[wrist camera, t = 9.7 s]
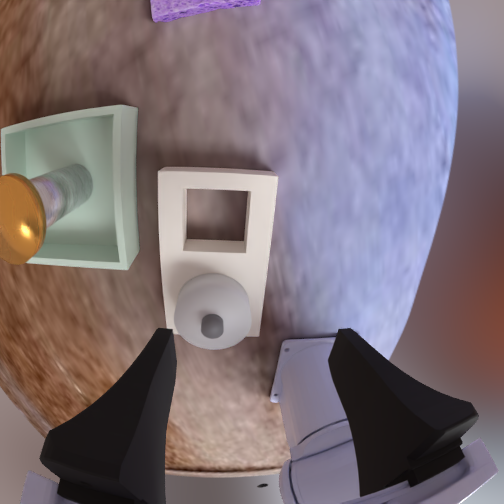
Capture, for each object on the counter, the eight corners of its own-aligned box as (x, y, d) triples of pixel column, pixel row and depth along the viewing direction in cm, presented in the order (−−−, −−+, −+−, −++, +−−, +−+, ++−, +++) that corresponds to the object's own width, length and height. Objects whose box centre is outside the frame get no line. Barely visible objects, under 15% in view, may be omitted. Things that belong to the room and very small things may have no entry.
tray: (139, 250, 19) (127, 270, 16) (36, 246, 18) (17, 262, 15) (138, 107, 15) (122, 104, 12) (25, 125, 14) (1, 128, 11)
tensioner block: (256, 320, 23) (263, 363, 18) (171, 317, 22) (162, 359, 17) (272, 171, 18) (288, 185, 13) (165, 166, 17) (144, 180, 12)
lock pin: (103, 214, 17) (46, 266, 10) (55, 215, 17) (-9, 262, 10) (100, 151, 15) (31, 171, 8) (50, 157, 15) (-24, 181, 8)
